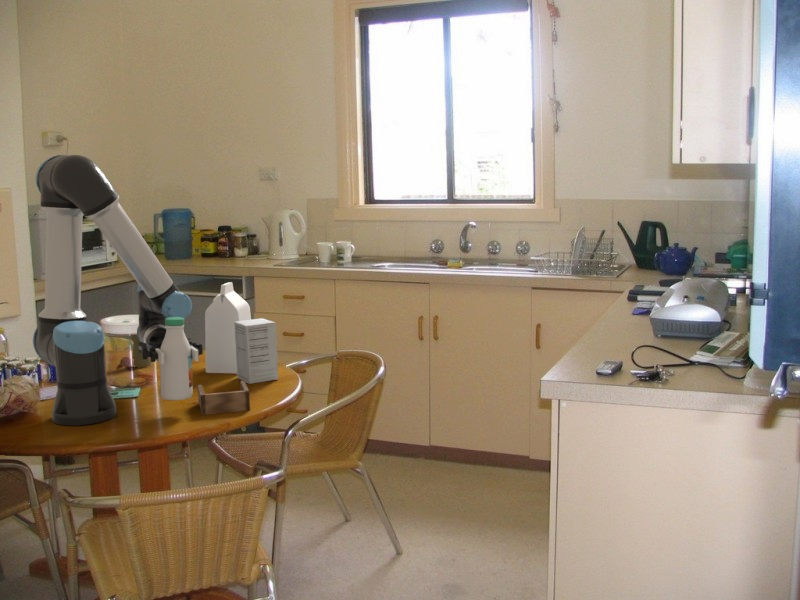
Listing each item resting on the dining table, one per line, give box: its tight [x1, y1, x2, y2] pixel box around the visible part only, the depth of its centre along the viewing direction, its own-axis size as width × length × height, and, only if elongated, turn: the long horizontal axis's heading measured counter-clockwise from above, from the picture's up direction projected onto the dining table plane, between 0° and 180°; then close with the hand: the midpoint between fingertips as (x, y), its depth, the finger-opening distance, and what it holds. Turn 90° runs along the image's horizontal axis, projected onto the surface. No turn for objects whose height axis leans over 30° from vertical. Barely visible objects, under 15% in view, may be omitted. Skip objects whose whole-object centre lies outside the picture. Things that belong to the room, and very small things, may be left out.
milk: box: [204, 281, 252, 374], centre depth 270 cm, size 12×12×26 cm
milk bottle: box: [159, 317, 194, 401], centre depth 222 cm, size 8×8×20 cm
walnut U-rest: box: [197, 380, 251, 416], centre depth 230 cm, size 12×11×5 cm
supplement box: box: [234, 317, 279, 385], centre depth 257 cm, size 10×9×17 cm
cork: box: [130, 334, 153, 368], centre depth 276 cm, size 6×6×11 cm
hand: (179, 357), depth 217 cm, fingers closed on milk bottle, 8 cm apart
